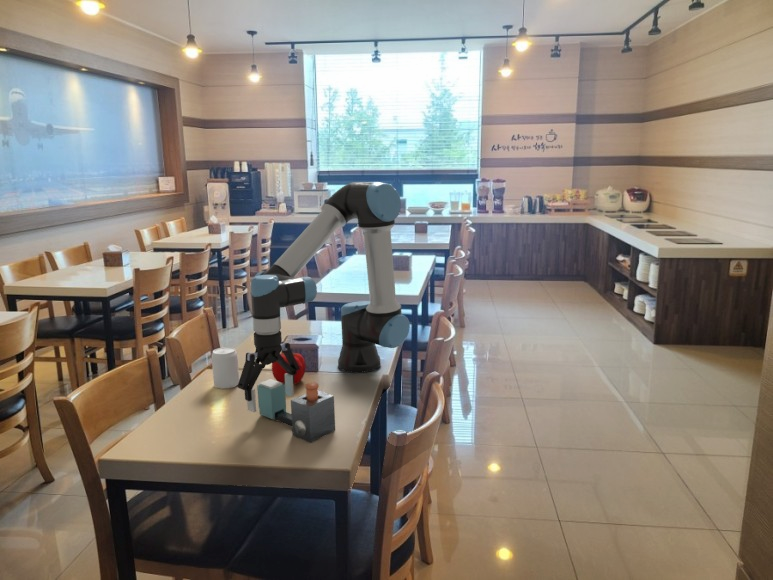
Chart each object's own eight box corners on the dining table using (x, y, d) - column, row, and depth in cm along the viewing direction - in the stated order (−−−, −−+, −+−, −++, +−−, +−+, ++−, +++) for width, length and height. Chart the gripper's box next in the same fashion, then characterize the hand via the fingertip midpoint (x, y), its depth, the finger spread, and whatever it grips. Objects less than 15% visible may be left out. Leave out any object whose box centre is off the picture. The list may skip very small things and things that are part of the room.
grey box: (317, 423, 156) (315, 389, 154) (335, 430, 151) (333, 395, 149) (291, 435, 149) (289, 400, 146) (309, 443, 144) (307, 407, 142)
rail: (268, 411, 164) (268, 405, 163) (308, 427, 153) (308, 420, 153) (261, 414, 162) (261, 407, 162) (301, 430, 151) (301, 423, 151)
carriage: (272, 408, 164) (270, 378, 162) (286, 413, 161) (284, 382, 159) (259, 414, 161) (257, 383, 159) (272, 419, 157) (270, 388, 155)
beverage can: (244, 383, 186) (242, 348, 183) (227, 391, 179) (224, 356, 176) (226, 379, 190) (223, 345, 187) (208, 387, 183) (205, 352, 180)
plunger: (313, 401, 151) (312, 381, 150) (321, 404, 149) (320, 384, 147) (303, 405, 148) (302, 385, 147) (312, 408, 146) (311, 388, 145)
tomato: (285, 391, 178) (283, 360, 176) (265, 380, 188) (263, 351, 186) (315, 382, 186) (313, 352, 183) (294, 372, 195) (292, 344, 193)
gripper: (292, 319, 167) (295, 386, 171) (220, 339, 148) (226, 414, 153) (309, 323, 162) (312, 392, 167) (238, 344, 143) (243, 421, 148)
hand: (271, 402), depth 160 cm, fingers open, 13 cm apart
